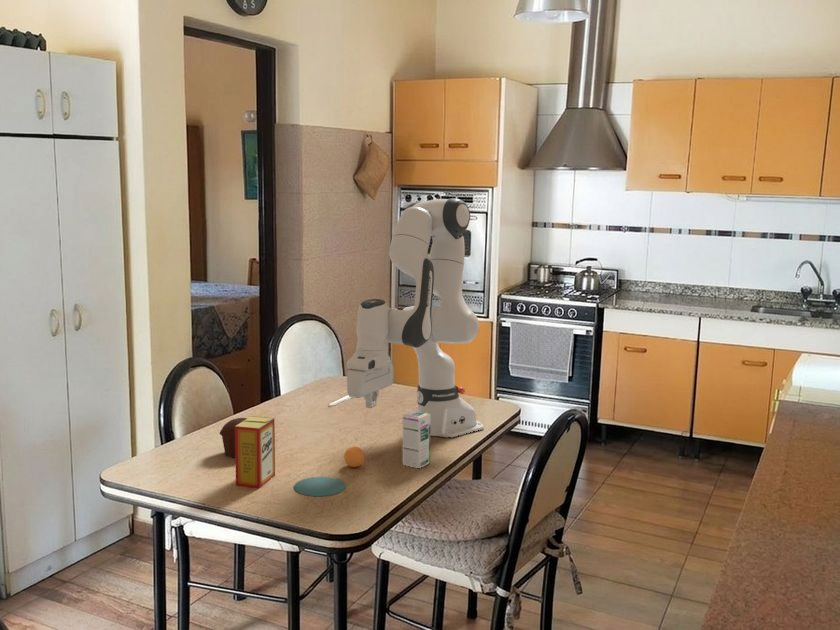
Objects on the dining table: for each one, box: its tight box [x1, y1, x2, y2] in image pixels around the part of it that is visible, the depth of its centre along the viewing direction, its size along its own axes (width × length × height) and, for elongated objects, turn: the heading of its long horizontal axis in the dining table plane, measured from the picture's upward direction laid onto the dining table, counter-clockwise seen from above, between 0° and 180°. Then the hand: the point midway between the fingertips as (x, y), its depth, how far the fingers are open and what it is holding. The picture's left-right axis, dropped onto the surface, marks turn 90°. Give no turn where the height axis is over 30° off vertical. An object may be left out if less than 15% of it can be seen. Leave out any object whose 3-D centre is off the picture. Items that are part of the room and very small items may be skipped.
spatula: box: [328, 395, 353, 407], centre depth 294 cm, size 28×4×3 cm, turn 151°
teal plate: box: [293, 476, 347, 497], centre depth 209 cm, size 13×13×1 cm
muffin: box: [219, 417, 249, 459], centre depth 232 cm, size 12×11×10 cm
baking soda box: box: [234, 415, 276, 489], centre depth 211 cm, size 10×6×16 cm
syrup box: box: [402, 410, 432, 469], centre depth 226 cm, size 6×6×14 cm
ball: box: [343, 446, 365, 468], centre depth 224 cm, size 6×6×6 cm
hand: (371, 406), depth 230 cm, fingers closed
